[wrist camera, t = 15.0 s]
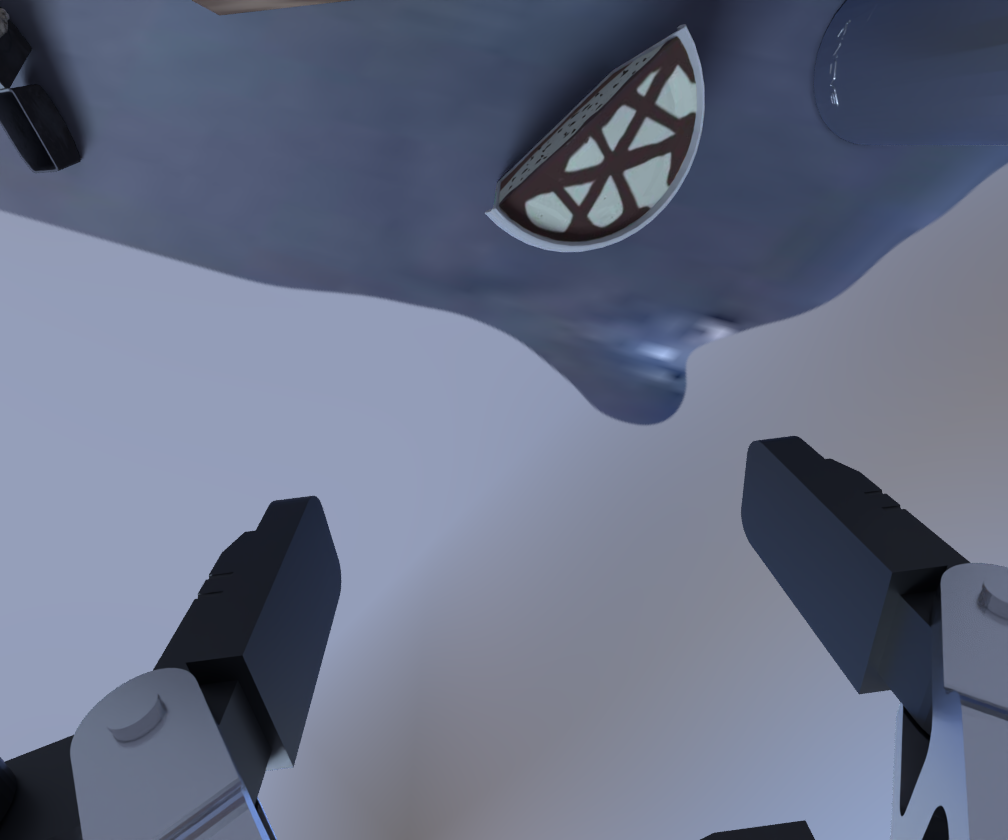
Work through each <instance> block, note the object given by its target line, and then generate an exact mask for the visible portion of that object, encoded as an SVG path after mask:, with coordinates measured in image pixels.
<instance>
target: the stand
mask: <svg viewBox="0 0 1008 840" xmlns="http://www.w3.org/2000/svg"><path fill="white" fill-rule="evenodd" d="M192 1H194V2H196V3H198V4H199V5H201V6H203V7H205V8H207V9H209V10H211V11H213V12H214V13H216V14H218V15H227V14H236V13H244V12H253V11H262V10H271V9H279V8H288V7H297V6H306V5H315V4H323V3H332V2H341V1H350V0H192Z"/></svg>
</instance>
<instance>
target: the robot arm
mask: <svg viewBox="0 0 1008 840" xmlns="http://www.w3.org/2000/svg"><path fill="white" fill-rule="evenodd" d="M814 93H815V100H816V105H817V108H818V110H819V113H820V115H821V118H822V119H823V121H824V122H825V124H826V125H827V126H828V128H829V129H830V130H831V131H832V132H833V133H835V134H836V135H837V136H838V137H840V138H841V139H843V140H846V141H848V142H851V143H853V144H862V145H1008V0H847V1H846V2H845V3H844V5H843V6H842V7H841V8H840V10H839V11H838V12H837V13H836V15H835V16H834V18H833V20H832V22H831V23H830V25H829V27H828V29H827V30H826V32H825V35H824V37H823V40H822V43H821V45H820V48H819V50H818V55H817V59H816V64H815V69H814ZM741 517H742V524H743V528H744V531H745V534H746V537H747V539H748V541H749V542H750V544H751V545H752V547H753V548H754V550H755V551H756V552H757V554H758V555H759V556H760V558H761V559H762V561H763V562H764V563H765V565H766V566H767V567H768V569H769V570H770V571H771V573H772V574H773V576H774V577H775V579H776V580H777V581H778V583H779V584H780V586H781V587H782V588H783V590H784V591H785V592H786V594H787V595H788V597H789V598H790V599H791V601H792V602H793V604H794V605H795V606H796V608H797V609H798V610H799V612H800V613H801V615H802V616H803V617H804V619H805V620H806V621H807V623H808V624H809V626H810V627H811V628H812V630H813V631H814V633H815V634H816V635H817V637H818V638H819V639H820V641H821V642H822V644H823V645H824V646H825V648H826V649H827V651H828V652H829V653H830V655H831V656H832V657H833V659H834V660H835V662H836V663H837V664H838V666H839V667H840V669H841V670H842V671H843V673H844V674H845V675H846V677H847V678H848V680H849V681H850V682H851V684H852V685H853V686H854V688H855V689H856V691H857V692H858V693H859V694H863V693H872V692H878V691H885V690H892V692H893V693H894V694H895V695H896V697H897V698H898V699H899V701H900V702H901V703H900V706H899V709H898V711H897V716H896V732H895V753H894V777H893V799H892V820H891V835H890V840H1008V568H1007V567H1003V566H998V565H993V564H985V563H970V562H969V561H968V560H966V559H965V558H964V557H963V556H961V555H960V554H959V553H958V552H957V551H955V550H954V549H953V548H952V547H951V546H949V545H948V544H947V543H946V542H944V541H943V540H942V539H941V538H939V537H938V536H937V535H936V534H935V533H934V532H932V531H931V530H930V529H929V528H927V527H926V526H925V525H924V524H923V523H921V522H920V521H919V520H918V519H916V518H915V517H914V516H913V515H912V514H910V513H909V512H908V511H907V510H905V509H901V508H900V505H899V504H898V503H897V502H896V501H894V500H893V499H892V498H891V497H890V496H888V495H887V494H883V493H882V490H881V489H880V488H879V487H877V486H876V485H875V484H874V483H873V482H871V481H870V480H869V479H868V478H867V477H865V476H864V475H863V474H862V473H860V472H859V471H856V470H854V469H852V468H850V467H848V466H845V465H843V464H841V463H839V462H837V461H834V460H833V459H824V458H823V457H822V456H821V455H820V454H818V453H817V452H816V451H815V450H814V449H813V448H812V447H810V446H809V445H808V444H807V443H806V442H804V441H803V440H802V439H801V438H799V437H797V436H790V437H781V438H774V439H766V440H758V441H753V442H752V443H751V444H750V446H749V448H748V452H747V461H746V470H745V479H744V489H743V498H742V507H741ZM340 591H341V570H340V564H339V559H338V556H337V553H336V550H335V546H334V543H333V540H332V537H331V534H330V530H329V527H328V524H327V521H326V517H325V514H324V511H323V508H322V505H321V502H320V500H319V499H318V498H317V497H316V496H309V497H300V498H292V499H284V500H276V501H273V502H271V503H270V505H269V507H268V509H267V510H266V512H265V514H264V516H263V518H262V520H261V522H260V523H259V526H258V527H257V529H256V531H250V532H244V533H243V534H242V535H241V536H240V537H239V538H238V539H237V540H236V541H235V542H233V543H232V544H231V545H230V546H229V547H228V548H227V549H226V550H225V551H224V552H222V554H221V555H220V557H219V559H218V560H217V562H216V564H215V565H214V567H213V569H212V571H211V573H210V574H209V579H208V580H206V581H205V583H204V585H203V586H202V588H201V589H200V591H199V593H198V599H195V600H194V601H193V603H192V605H191V606H190V608H189V610H188V612H187V613H186V615H185V617H184V618H183V620H182V622H181V623H180V625H179V627H178V629H177V630H176V632H175V634H174V635H173V637H172V639H171V641H170V642H169V644H168V646H167V647H166V649H165V651H164V653H163V654H162V656H161V658H160V659H159V661H158V663H157V664H156V666H155V668H154V670H153V671H151V672H147V673H145V674H142V675H140V676H137V677H135V678H133V679H131V680H129V681H127V682H126V683H124V684H122V685H121V686H119V687H117V688H116V689H115V690H113V691H112V692H110V693H109V694H108V695H106V696H105V697H104V698H103V699H102V700H101V701H100V702H98V703H97V704H96V705H95V706H94V707H93V709H92V710H91V711H90V712H89V713H88V714H87V715H86V717H85V718H84V719H83V720H82V722H81V724H80V725H79V727H78V728H77V730H76V732H75V734H74V735H73V736H70V737H67V738H65V739H62V740H60V741H57V742H55V743H52V744H49V745H47V746H44V747H41V748H39V749H36V750H34V751H31V752H29V753H26V754H23V755H21V756H18V757H16V758H13V759H11V760H8V761H6V762H4V761H3V760H2V759H1V757H0V840H277V838H276V835H275V833H274V831H273V829H272V827H271V825H270V822H269V820H268V818H267V816H266V813H265V811H264V809H263V807H262V805H261V803H260V801H259V799H258V797H257V796H258V793H259V790H260V787H261V784H262V780H263V777H264V774H265V771H269V770H278V769H285V768H293V767H294V763H295V759H296V756H297V752H298V748H299V744H300V741H301V737H302V733H303V730H304V726H305V722H306V719H307V715H308V711H309V708H310V704H311V700H312V696H313V693H314V689H315V685H316V682H317V678H318V674H319V671H320V667H321V663H322V659H323V655H324V652H325V648H326V645H327V641H328V637H329V633H330V630H331V626H332V622H333V619H334V615H335V611H336V607H337V604H338V600H339V596H340ZM700 840H815V839H814V837H813V835H812V833H811V831H810V829H809V827H808V825H807V823H806V821H797V822H791V823H783V824H775V825H768V826H762V827H754V828H747V829H739V830H732V831H724V832H717V833H713V834H711V835H709V836H707V837H705V838H703V839H700Z"/></svg>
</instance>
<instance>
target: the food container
mask: <svg viewBox="0 0 1008 840" xmlns="http://www.w3.org/2000/svg"><path fill="white" fill-rule="evenodd" d="M677 29H678V31H676V32H675V33H673V34H671V35H670V36H668V37H666V38H665V39H663V40H661V41H660V42H658V43H657V44H655V45H653V46H652V47H650V48H648V49H647V50H645V51H644V52H642V53H640V54H639V55H637V56H635V57H634V58H632V59H630V60H629V61H627V62H626V63H624V64H622V65H621V66H619V67H617V68H616V69H614V70H613V71H612V72H610V73H609V74H608V75H607V76H606V77H605V78H604V79H603V80H602V81H601V82H600V83H599V84H598V85H597V86H596V87H595V88H594V89H593V90H592V91H591V92H590V93H589V94H588V95H587V96H586V97H585V98H584V99H583V100H582V101H581V102H580V103H579V104H578V105H577V106H575V107H574V108H573V109H572V110H571V111H570V112H569V113H568V114H567V115H566V116H565V117H564V118H563V119H562V120H561V121H560V122H559V123H558V124H557V125H556V126H555V127H554V128H553V129H552V130H551V131H550V132H549V133H548V134H547V135H546V136H545V137H544V138H543V139H542V140H540V141H539V142H538V143H537V144H536V145H535V146H534V147H533V148H532V149H531V150H530V151H529V152H528V153H527V154H526V155H525V156H524V157H523V158H522V159H521V160H520V161H519V162H518V163H517V164H516V165H515V166H514V167H513V168H512V169H511V170H510V171H509V172H508V173H507V174H506V175H504V176H503V177H502V178H501V179H500V180H499V181H498V182H497V187H496V194H495V201H494V208H493V209H492V210H487V211H486V212H485V214H486V215H487V216H488V217H489V218H490V219H491V220H492V221H493V222H494V223H495V224H496V225H497V226H499V227H500V228H502V229H503V230H504V231H506V232H507V233H509V234H510V235H511V236H513V237H515V238H517V239H519V240H521V241H523V242H525V243H527V244H529V245H532V246H535V247H538V248H542V249H545V250H551V251H558V252H582V251H587V250H592V249H597V248H602V247H605V246H608V245H611V244H613V243H616V242H619V241H621V240H623V239H625V238H627V237H629V236H630V235H632V234H634V233H636V232H637V231H639V230H640V229H641V228H643V227H644V226H645V225H647V224H648V223H649V222H651V221H652V220H653V219H654V218H655V217H656V216H657V215H658V214H659V213H660V212H661V211H662V210H663V209H664V208H665V207H666V206H667V204H668V203H669V202H670V201H671V199H672V198H673V197H674V195H675V194H676V193H677V191H678V190H679V188H680V186H681V185H682V183H683V181H684V179H685V178H686V176H687V174H688V172H689V170H690V167H691V165H692V162H693V160H694V158H695V155H696V153H697V149H698V145H699V141H700V137H701V134H702V128H703V120H704V112H705V86H704V80H703V73H702V66H701V62H700V59H699V56H698V52H697V49H696V46H695V43H694V41H693V39H692V36H691V34H690V32H689V30H688V28H687V26H686V24H684V25H679V26H678V27H677Z"/></svg>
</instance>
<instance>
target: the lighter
mask: <svg viewBox="0 0 1008 840" xmlns="http://www.w3.org/2000/svg"><path fill="white" fill-rule="evenodd" d="M31 49H32V48H31V46H30V45H29V44H28V42H27V41H26V40H25V38H24V37H23V36H22V35H21V33H20V32H19V31H18V29H17V28H16V27H15V25H14V24H13V23H12V21H11V20H10V19H9V14H8V13H7V12H6V11H5V10H4V9H2V8H1V7H0V124H1V125H2V127H3V129H4V130H5V132H6V134H7V135H8V137H9V139H10V140H11V142H12V143H13V145H14V147H15V148H16V150H17V152H18V153H19V155H20V157H21V158H22V159H23V160H24V162H25V163H26V164H27V165H28V167H29V168H30V169H31V170H32V172H34V173H45V172H57V171H59V170H61V169H64V168H66V167H69V166H71V165H73V164H76V163H78V162H80V160H81V159H80V156H79V154H78V151H77V148H76V146H75V143H74V141H73V139H72V137H71V135H70V133H69V131H68V129H67V127H66V125H65V123H64V121H63V119H62V118H61V116H60V114H59V113H58V111H57V109H56V107H55V106H54V104H53V103H52V101H51V100H50V99H49V97H48V96H47V94H46V93H45V92H44V90H43V89H42V88H41V86H40V85H37V84H34V85H28V86H22V87H16V88H10V86H11V85H12V83H13V81H14V79H15V78H16V76H17V74H18V72H19V71H20V69H21V67H22V65H23V63H24V62H25V60H26V58H27V56H28V55H29V53H30V51H31Z"/></svg>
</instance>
